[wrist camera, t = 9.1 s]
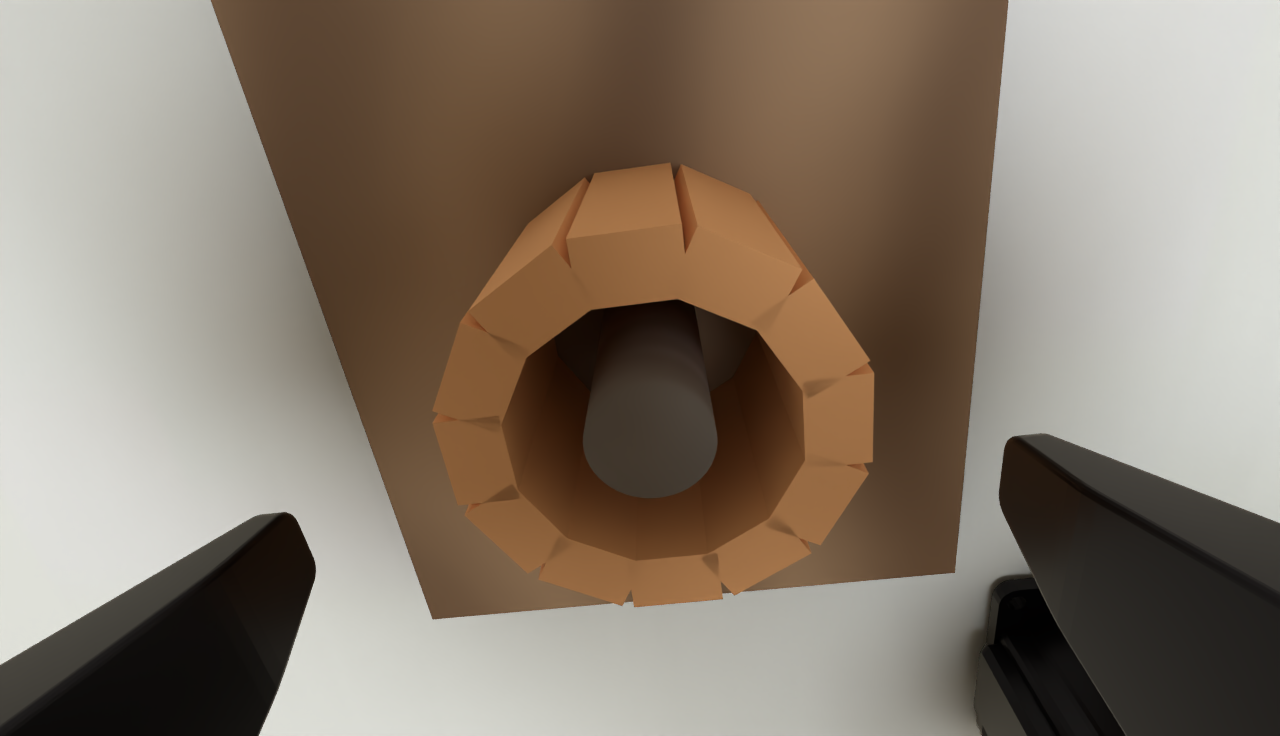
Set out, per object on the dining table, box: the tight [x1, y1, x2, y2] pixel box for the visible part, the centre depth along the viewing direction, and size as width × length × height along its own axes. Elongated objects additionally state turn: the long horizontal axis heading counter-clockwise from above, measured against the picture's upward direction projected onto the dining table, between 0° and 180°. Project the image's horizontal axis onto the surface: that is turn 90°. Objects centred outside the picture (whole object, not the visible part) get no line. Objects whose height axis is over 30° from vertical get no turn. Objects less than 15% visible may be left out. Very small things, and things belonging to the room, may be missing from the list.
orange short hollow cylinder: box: [432, 163, 874, 607], centre depth 12 cm, size 6×6×5 cm
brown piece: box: [211, 0, 1008, 619], centre depth 13 cm, size 14×16×6 cm
